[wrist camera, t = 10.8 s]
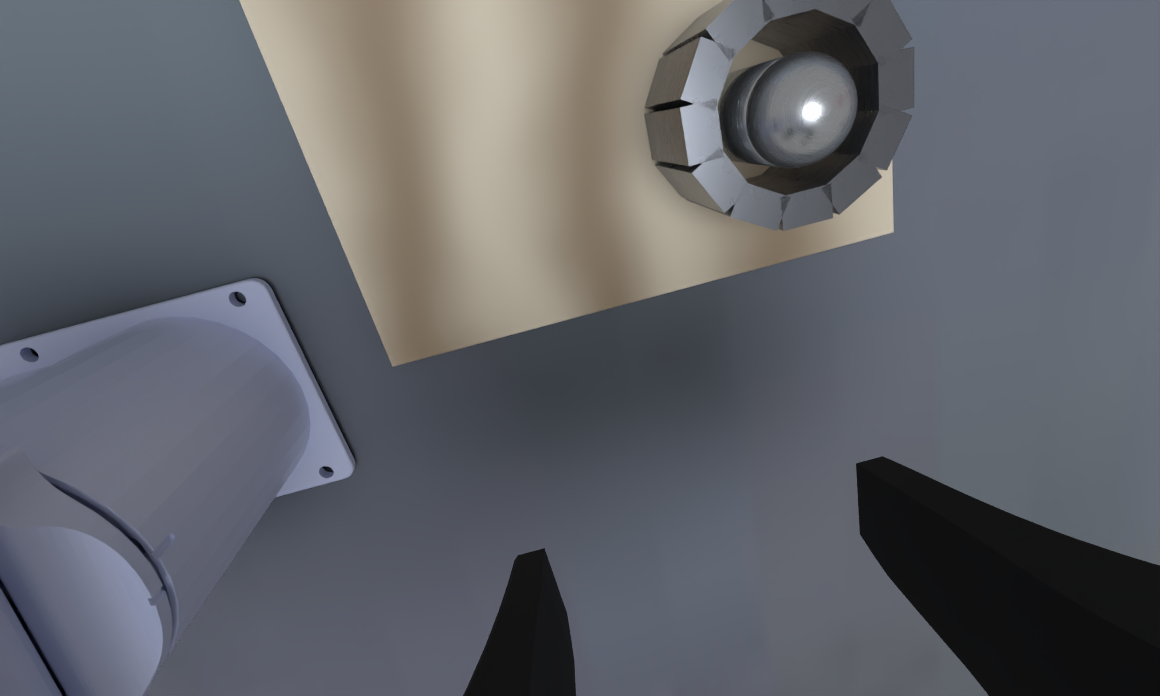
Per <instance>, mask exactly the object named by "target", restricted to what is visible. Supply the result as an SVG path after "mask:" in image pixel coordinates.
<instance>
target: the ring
mask: <svg viewBox="0 0 1160 696" xmlns="http://www.w3.org/2000/svg"><path fill="white" fill-rule="evenodd" d="M750 40H753V41H756V42H759V43H761V44H764V45H767V46H769V47H772V48H774V49H777V50H779V51H780V53H781V54H782V56H786V55H790V54H793V53H798V52H807V51H812V52H819V53H823V54H827V55H829V56H831V57H833V58H835V59H836V60H838V61H839V62H840V63H842V64H843V65H844V66H845V67H846V69H847V70H848V71H849V73H850V75H851V76H852V78H853V80H854V83H855V86H856V90H857V97H858V105H857V113H856V117H855V120H854V123H853V126H852V128H851V130H850V132H849V133H848V135H847V137H846V138H845V140H844V141H843V142H842V143H841V145H840V146H839V147H838V148H837V149H836V150H835V151H834V152H832V153H831V154H830V155H829V156H827V157H826V158H824V159H822V160H821V161H819V162H817V163H814V164H812V165H809V166H805V167H800V168H781V167H773V166H770V167H769V168H768V169H767V170H766V171H765V172H764V173H763V174H762V175H758V176H754V177H751V178H747V179H745V178H744V177H743V176H742V175H741V173H740V172H739V171H738V169H737V168H736V167H735V166H734V164H733V163H732V162H731V160H730V159H729V158H728V157H727V155H726V154H725V153H724V151H723V145H722V138H721V130H720V122H719V114H718V107H717V104H718V101H719V98H720V95H721V92H722V90H723V87H724V84H725V81H726V78H727V75H728V72H729V69H730V67H731V64H732V61H733V58H734V56H735V55H736V54H737V53H738V52H739V51H740V50H741V49H742V48H743V47H744V46H745V45H746V44H747V43H748V42H749V41H750ZM910 40H912V38H911V36H910V34H909V32H908V31H907V29H906V27H905V25H904V24H903V22H902V20H901V18H900V17H899V15H898V13H897V11H896V10H895V8H894V6H893V4H892V3H891V1H890V0H723V1H722V2H720V3H719V4H717V5H716V6H714V7H713V8H711V9H710V10H708V11H707V12H705V13H704V14H702V15H701V16H699V17H698V18H697V19H696V20H695V21H694V22H693V23H692V24H691V25H690V26H689V27H688V28H687V29H686V30H685V31H684V32H683V33H682V34H681V35H680V36H679V37H678V38H677V39H676V40H675V41H674V42H673V43H672V44H671V45H670V46H669V47H668V48H667V49H666V50H665V51H664V52H663V55H664V57H663V58H661V59H659V61H658V64H657V68H656V71H655V74H654V77H653V81H652V84H651V87H650V91H649V94H648V97H647V100H646V104H645V108H648V109H651V110H654V112H650V113H646V114H644V117H645V123H646V128H647V134H648V140H649V145H650V151H651V157H652V160H657V161H658V162H657V163H656V164H655V166H656V167H657V169H658V170H659V171H660V172H661V173H662V175H663V176H664V177H665V178H666V179H667V181H668V182H669V183H670V184H671V185H672V186H673V188H674V189H675V190H676V191H677V192H678V194H679V195H680V196H681V197H683V198H686V200H687V201H690V202H692V203H695V204H698V205H700V206H703V207H706V208H708V209H711V210H713V211H716V212H719V213H721V214H724V215H726V216H729V217H732V218H735V219H739V220H742V221H745V222H748V223H752V224H755V225H758V226H761V227H765V228H768V229H771V230H775V231H777V229H779V230H782V231H786V230H790V229H794V228H798V227H801V226H805V225H809V224H813V223H817V222H820V221H824V220H828V219H832V218H833V213H835V214H839V215H840V214H841V213H842V212H843V211H844V210H845V209H847V208H848V207H849V206H850V205H851V204H852V203H853V202H855V201H856V200H857V199H858V198H859V197H860V196H861V195H862V194H864V193H865V192H866V191H867V190H868V189H869V188H870V187H871V186H873V185H874V184H875V183H876V182H877V181H878V180H879V179H881V178H882V176H881V175H880V173H879V172H878V170H887V169H888V167H889V165H890V163H891V161H892V159H893V156H894V154H895V152H896V150H897V148H898V146H899V143H900V141H901V139H902V137H903V135H904V133H905V130H906V128H907V126H908V124H909V122H910V119H911V117H912V115H910V114H907V113H904V112H901V111H902V110H906V109H910V108H914V47H911V48H907V49H902V48H903V47H904V46H905V45H906V44H907V43H908V42H909V41H910ZM901 49H902V50H901Z"/></svg>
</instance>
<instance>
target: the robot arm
mask: <svg viewBox="0 0 1160 696" xmlns="http://www.w3.org/2000/svg"><path fill="white" fill-rule="evenodd" d="M235 292H240V293H242V294H243V295H244V296H245V297H246V303H245V304H243V303H240V302H238V301H237V299H236V298H235ZM30 348H32V349H34V350H35V351H36V352H37V353H38V356H39V357H37V356H35V355H34V354H33V353H31V350H30ZM355 465H356V464H355V460H354V458H353V456H352V454H351V452H350V449H349V447H348V445H347V443H346V441H345V439H344V437H343V435H342V433H341V431H340V429H339V427H338V425H337V423H336V421H335V418H334V416H333V414H332V412H331V410H330V408H329V406H328V404H327V402H326V400H325V398H324V396H323V394H322V392H321V390H320V388H319V385H318V383H317V381H316V379H315V377H314V375H313V373H312V371H311V369H310V367H309V365H308V363H307V361H306V359H305V357H304V354H303V352H302V350H301V348H300V346H299V344H298V342H297V340H296V338H295V336H294V334H293V332H292V330H291V328H290V326H289V323H288V321H287V319H286V317H285V315H284V313H283V311H282V309H281V307H280V305H279V303H278V301H277V299H276V297H275V295H274V292H273V290H272V288H271V287H270V286H269V284H268V283H266V282H265V281H264V280H261V279H258V278H250V279H246V280H242V281H238V282H235V283H231V284H227V285H223V286H220V287H216V288H212V289H208V290H205V291H201V292H197V293H193V294H190V295H186V296H182V297H178V298H175V299H171V300H167V301H163V302H160V303H156V304H152V305H148V306H145V307H141V308H137V309H133V310H130V311H126V312H122V313H118V314H115V315H111V316H107V317H103V318H100V319H96V320H92V321H88V322H85V323H81V324H77V325H73V326H70V327H66V328H62V329H58V330H55V331H51V332H47V333H43V334H40V335H36V336H32V337H28V338H25V339H21V340H17V341H13V342H10V343H6V344H2V345H0V696H148V692H149V687H150V684H151V682H152V680H153V679H154V677H155V675H156V674H157V672H158V670H159V669H160V667H161V666H162V664H163V663H164V661H165V660H166V658H167V657H168V656H169V654H170V653H171V651H172V650H173V648H174V647H175V645H176V644H177V642H178V641H179V639H180V638H181V636H182V635H183V633H184V632H185V630H186V629H187V627H188V626H189V624H190V623H191V621H192V620H193V618H194V617H195V615H196V614H197V612H198V611H199V610H200V608H201V607H202V605H203V604H204V602H205V601H206V599H207V598H208V596H209V595H210V593H211V592H212V590H213V589H214V587H215V586H216V584H217V583H218V581H219V580H220V578H221V577H222V575H223V574H224V572H225V571H226V569H227V568H228V566H229V565H230V564H231V562H232V561H233V559H234V558H235V556H236V555H237V553H238V552H239V550H240V549H241V547H242V546H243V544H244V543H245V541H246V540H247V538H248V537H249V535H250V534H251V532H252V531H253V529H254V528H255V526H256V525H257V523H258V522H259V520H260V519H261V518H262V516H263V515H264V513H265V512H266V510H267V509H268V507H269V506H270V504H271V503H272V501H273V500H274V498H275V497H279V496H282V495H286V494H290V493H293V492H297V491H301V490H304V489H308V488H312V487H316V486H319V485H323V484H327V483H330V482H334V481H338V480H341V479H345V478H347V477H349V476H350V475H351V474H352V473H353V471H354V469H355ZM323 466H328V467H330V468H332V470H333V472H328V471H325V470H324V469H323ZM856 470H857V488H858V507H859V525H860V535H861V536H862V538H863V539H864V541H865V543H866V544H867V546H868V547H869V549H870V550H871V552H872V553H873V555H874V556H875V558H876V559H877V561H878V562H879V564H880V565H881V566H882V568H883V569H884V571H885V572H886V574H887V575H888V576H889V578H890V579H891V580H892V581H893V582H894V584H895V585H896V586H897V587H898V588H899V590H900V591H901V592H902V593H903V594H904V595H905V597H906V598H907V599H908V600H909V601H910V602H911V604H912V605H913V606H914V607H915V608H916V610H917V611H918V612H919V613H920V614H921V615H922V616H923V618H924V619H925V620H926V621H927V622H928V623H929V625H930V626H931V627H932V628H933V629H934V630H935V632H936V633H937V634H938V635H939V636H940V637H941V639H942V640H943V641H944V642H945V643H946V644H947V645H948V647H949V648H950V649H951V650H952V651H953V652H954V654H955V655H956V656H957V657H958V658H959V659H960V661H961V662H962V663H963V664H964V665H965V666H966V668H967V669H968V670H969V671H970V672H971V674H972V675H973V676H974V677H975V679H976V680H977V681H978V682H979V684H980V685H981V686H982V687H983V689H984V690H985V691H986V692H987V694H988V695H989V696H1160V566H1159V565H1156V564H1152V563H1149V562H1146V561H1142V560H1139V559H1136V558H1132V557H1129V556H1126V555H1123V554H1120V553H1117V552H1114V551H1111V550H1108V549H1105V548H1102V547H1099V546H1096V545H1093V544H1090V543H1087V542H1084V541H1081V540H1078V539H1075V538H1072V537H1070V536H1067V535H1064V534H1061V533H1058V532H1056V531H1053V530H1051V529H1048V528H1045V527H1043V526H1040V525H1038V524H1035V523H1033V522H1030V521H1028V520H1025V519H1023V518H1020V517H1018V516H1015V515H1013V514H1010V513H1008V512H1005V511H1003V510H1001V509H998V508H996V507H994V506H991V505H989V504H987V503H984V502H982V501H980V500H978V499H975V498H973V497H971V496H968V495H966V494H964V493H962V492H960V491H957V490H955V489H953V488H951V487H949V486H946V485H944V484H942V483H940V482H938V481H936V480H933V479H931V478H929V477H927V476H925V475H923V474H921V473H918V472H916V471H914V470H912V469H910V468H908V467H905V466H903V465H901V464H899V463H897V462H894V461H892V460H890V459H887V458H885V457H883V456H882V457H879V458H875V459H871V460H867V461H864V462H860V463H856ZM463 696H576V688H575V668H574V656H573V649H572V642H571V636H570V629H569V623H568V616H567V612H566V609H565V606H564V603H563V601H562V598H561V595H560V592H559V589H558V586H557V583H556V580H555V578H554V575H553V572H552V569H551V566H550V563H549V560H548V557H547V555H546V552H545V549H540V550H536V551H533V552H529V553H525V554H522V555H518V556H517V558H516V559H515V561H514V564H513V568H512V572H511V575H510V578H509V582H508V585H507V588H506V591H505V594H504V597H503V600H502V603H501V606H500V609H499V612H498V614H497V617H496V620H495V622H494V625H493V627H492V630H491V633H490V635H489V638H488V641H487V643H486V646H485V648H484V650H483V653H482V655H481V657H480V660H479V662H478V664H477V666H476V669H475V671H474V673H473V675H472V678H471V680H470V682H469V685H468V687H467V689H466V691H465V693H464V695H463Z"/></svg>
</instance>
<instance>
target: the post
mask: <svg viewBox="0 0 1160 696" xmlns="http://www.w3.org/2000/svg"><path fill="white" fill-rule="evenodd" d="M857 105H858V97H857V90H856V86H855V83H854V80H853V78H852V76H851V75H850V73H849V71H848V70H847V69H846V67H845V66H844V65H843V64H842V63H840V62H839V61H838V60H836V59H835V58H833V57H831V56H829V55H827V54H823V53H819V52H812V51H807V52H798V53H793V54H790V55H786V56H783V57H780V58H776V59H773V60H770V61H766V62H763V63H760V64H756V65H753V66H750V67H746V68H743V69H740V70H736V71H733V72H730V73H728V75H727V78H726V81H725V84H724V87H723V90H722V92H721V95H720V98H719V101H718V104H717V107H718V114H719V122H720V130H721V138H722V145H723V151H724V153H725V154H726V155H727V157H728V158H729V159H730V160H731V161H732V162H740V163H748V164H757V165H765V166H773V167H781V168H800V167H805V166H809V165H812V164H814V163H817V162H819V161H821V160H822V159H824V158H826V157H827V156H829V155H830V154H831V153H832V152H834V151H835V150H836V149H837V148H838V147H839V146H840V145H841V143H842V142H843V141H844V140H845V138H846V137H847V135H848V133H849V132H850V130H851V128H852V126H853V123H854V120H855V117H856V113H857Z"/></svg>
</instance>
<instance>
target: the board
mask: <svg viewBox="0 0 1160 696" xmlns="http://www.w3.org/2000/svg"><path fill="white" fill-rule="evenodd" d="M239 1H240V3H241V5H242V8H243V10H244V13H245V15H246V17H247V20H248V22H249V25H250V27H251V29H252V32H253V34H254V36H255V39H256V41H257V44H258V46H259V48H260V51H261V53H262V56H263V58H264V60H265V63H266V65H267V68H268V70H269V72H270V75H271V77H272V80H273V82H274V84H275V87H276V89H277V91H278V94H279V96H280V99H281V101H282V103H283V106H284V108H285V111H286V113H287V115H288V118H289V120H290V123H291V125H292V127H293V130H294V132H295V135H296V137H297V139H298V142H299V144H300V146H301V149H302V151H303V154H304V156H305V158H306V161H307V163H308V166H309V168H310V170H311V173H312V175H313V178H314V180H315V182H316V185H317V187H318V190H319V192H320V194H321V197H322V199H323V201H324V204H325V206H326V209H327V211H328V213H329V216H330V218H331V221H332V223H333V225H334V228H335V230H336V233H337V235H338V237H339V240H340V242H341V245H342V247H343V249H344V252H345V254H346V256H347V259H348V261H349V264H350V266H351V268H352V271H353V273H354V276H355V278H356V280H357V283H358V285H359V288H360V290H361V292H362V295H363V297H364V300H365V302H366V304H367V307H368V309H369V311H370V314H371V316H372V319H373V321H374V323H375V326H376V328H377V331H378V333H379V335H380V338H381V340H382V343H383V345H384V347H385V350H386V352H387V355H388V357H389V359H390V362H391V364H392V366H397V365H401V364H405V363H408V362H412V361H416V360H419V359H423V358H427V357H431V356H434V355H438V354H442V353H445V352H449V351H453V350H457V349H460V348H464V347H468V346H472V345H475V344H479V343H483V342H486V341H490V340H494V339H498V338H501V337H505V336H509V335H513V334H516V333H520V332H524V331H527V330H531V329H535V328H539V327H542V326H546V325H550V324H553V323H557V322H561V321H565V320H568V319H572V318H576V317H580V316H583V315H587V314H591V313H594V312H598V311H602V310H606V309H609V308H613V307H617V306H621V305H624V304H628V303H632V302H635V301H639V300H643V299H647V298H650V297H654V296H658V295H661V294H665V293H669V292H673V291H676V290H680V289H684V288H688V287H691V286H695V285H699V284H702V283H706V282H710V281H714V280H717V279H721V278H725V277H729V276H732V275H736V274H740V273H743V272H747V271H751V270H755V269H758V268H762V267H766V266H769V265H773V264H777V263H781V262H784V261H788V260H792V259H796V258H799V257H803V256H807V255H810V254H814V253H818V252H822V251H825V250H829V249H833V248H837V247H840V246H844V245H848V244H851V243H855V242H859V241H863V240H866V239H870V238H874V237H877V236H881V235H885V234H889V233H892V232H893V182H892V161H891V163H890V165H889V167H888V169H887V170H878V172H879V173H880V175H881V176H882V178H881V179H879V180H878V181H877V182H876V183H875V184H874V185H873V186H871V187H870V188H869V189H868V190H867V191H866V192H865V193H864V194H862V195H861V196H860V197H859V198H858V199H857V200H856V201H855V202H853V203H852V204H851V205H850V206H849V207H848V208H847V209H845V210H844V211H843V212H842V213H841V214H840V215H839V214H835V213H833V218H832V219H828V220H824V221H820V222H817V223H813V224H809V225H805V226H801V227H798V228H794V229H790V230H786V231H782V230H779V229H777V231H775V230H771V229H768V228H765V227H761V226H758V225H755V224H752V223H748V222H745V221H742V220H739V219H735V218H732V217H729V216H726V215H724V214H721V213H719V212H716V211H713V210H711V209H708V208H706V207H703V206H700V205H698V204H695V203H692V202H690V201H687V200H686V198H683V197H681V196H680V195H679V194H678V192H677V191H676V190H675V189H674V188H673V186H672V185H671V184H670V183H669V182H668V181H667V179H666V178H665V177H664V176H663V175H662V173H661V172H660V171H659V170H658V169H657V167H656V166H655V164H656V163H657V162H658V161H657V160H652V157H651V151H650V145H649V140H648V134H647V128H646V123H645V117H644V114H646V113H650V112H654V110H651V109H648V108H645V104H646V100H647V97H648V94H649V91H650V87H651V84H652V81H653V77H654V74H655V71H656V68H657V64H658V61H659V59H661V58H663V57H664V55H663V52H664V51H665V50H666V49H667V48H668V47H669V46H670V45H671V44H672V43H673V42H674V41H675V40H676V39H677V38H678V37H679V36H680V35H681V34H682V33H683V32H684V31H685V30H686V29H687V28H688V27H689V26H690V25H691V24H692V23H693V22H694V21H695V20H696V19H697V18H698V17H699V16H701V15H702V14H704V13H705V12H707V11H708V10H710V9H711V8H713V7H714V6H716V5H717V4H719V3H720V2H722V1H723V0H239ZM780 57H783V56H782V54H781V53H780V51H779V50H777V49H774V48H772V47H769V46H767V45H764V44H761V43H759V42H756V41H753V40H750V41H749V42H748V43H747V44H746V45H745V46H744V47H743V48H742V49H741V50H740V51H739V52H738V53H737V54H736V55H735V56H734V58H733V61H732V64H731V67H730V69H729V72H728V73H730V72H733V71H736V70H740V69H743V68H746V67H750V66H753V65H756V64H760V63H763V62H766V61H770V60H773V59H776V58H780ZM731 162H732V161H731ZM732 163H733V164H734V166H735V167H736V168H737V169H738V171H739V172H740V173H741V175H742V176H743V177H744V178H745V179H747V178H751V177H754V176H758V175H762V174H763V173H764V172H765V171H766V170H767V169H768V168H769V167H770V166H765V165H757V164H748V163H740V162H732Z"/></svg>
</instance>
